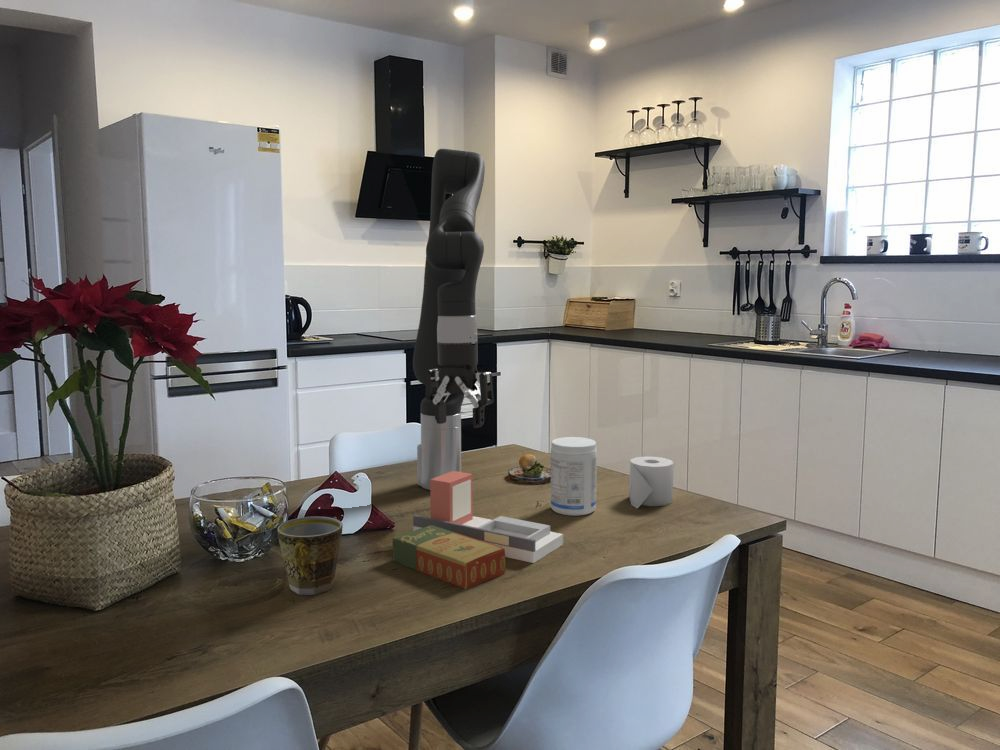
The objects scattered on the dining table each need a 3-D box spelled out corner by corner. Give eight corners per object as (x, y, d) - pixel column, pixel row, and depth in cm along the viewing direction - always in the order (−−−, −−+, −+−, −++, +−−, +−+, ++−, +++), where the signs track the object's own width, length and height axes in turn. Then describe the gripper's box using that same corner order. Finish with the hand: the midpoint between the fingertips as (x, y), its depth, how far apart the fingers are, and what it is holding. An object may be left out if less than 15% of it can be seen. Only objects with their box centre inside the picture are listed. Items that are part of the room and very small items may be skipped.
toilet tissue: (633, 511, 168) (634, 470, 167) (627, 493, 181) (628, 455, 180) (677, 512, 168) (678, 471, 167) (668, 494, 181) (669, 456, 180)
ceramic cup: (290, 574, 133) (288, 515, 132) (350, 575, 133) (348, 516, 131) (264, 607, 120) (262, 543, 119) (331, 608, 120) (329, 543, 119)
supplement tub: (573, 500, 175) (574, 434, 173) (605, 511, 168) (607, 442, 166) (540, 509, 169) (541, 440, 167) (572, 520, 162) (573, 448, 160)
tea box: (430, 525, 152) (429, 479, 151) (453, 515, 158) (453, 470, 157) (450, 530, 149) (450, 482, 148) (472, 519, 156) (472, 474, 154)
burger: (558, 485, 188) (558, 454, 187) (507, 485, 188) (507, 454, 187) (555, 472, 200) (555, 443, 199) (507, 472, 200) (507, 442, 199)
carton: (465, 592, 127) (464, 562, 127) (391, 562, 140) (390, 535, 139) (506, 574, 134) (506, 546, 133) (432, 548, 147) (431, 522, 146)
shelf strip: (413, 536, 152) (412, 515, 151) (447, 520, 161) (447, 501, 161) (533, 563, 138) (533, 541, 138) (563, 544, 148) (563, 523, 147)
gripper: (415, 340, 151) (417, 425, 153) (477, 342, 144) (479, 431, 146) (439, 337, 158) (441, 419, 160) (500, 339, 150) (501, 425, 152)
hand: (459, 425), depth 153 cm, fingers open, 8 cm apart
